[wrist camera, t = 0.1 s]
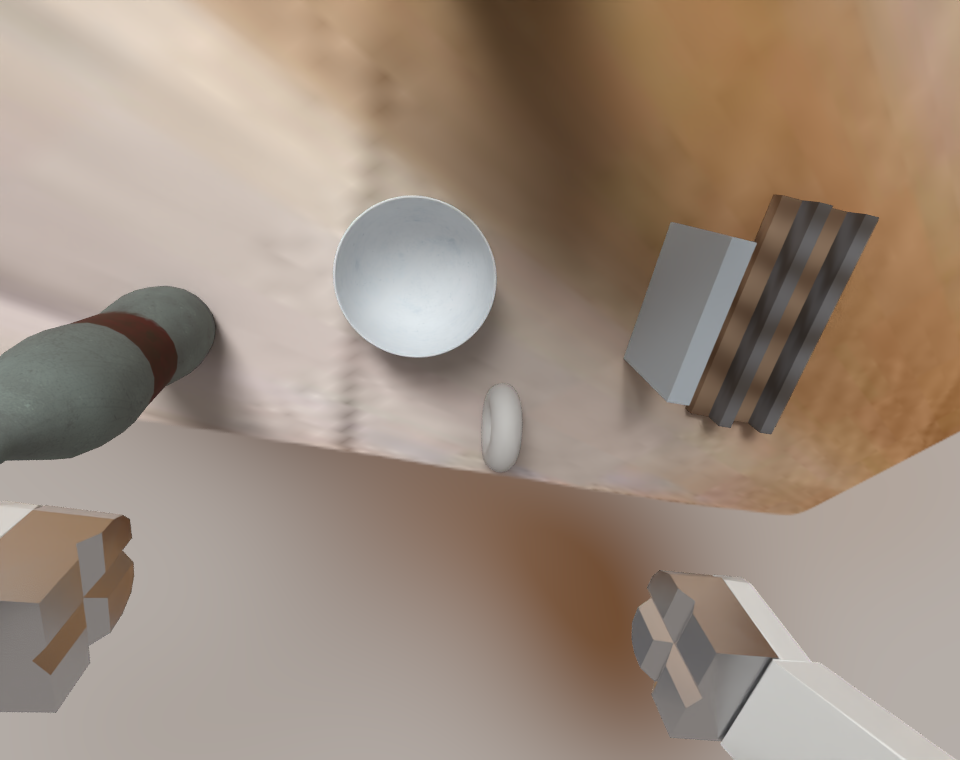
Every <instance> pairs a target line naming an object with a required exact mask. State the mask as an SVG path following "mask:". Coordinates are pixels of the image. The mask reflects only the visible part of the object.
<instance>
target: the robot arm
mask: <svg viewBox="0 0 960 760" xmlns="http://www.w3.org/2000/svg"><path fill="white" fill-rule="evenodd" d="M131 539H132V533H131V524H130V519H129V518H127V517H126V516H124V515H120V514H112V513H104V512H96V511H88V510H80V509H72V508H64V507H55V506H48V505H45V506H41V505H34V504H26V503H18V502H10V501H2V502H0V712H53V713H54V712H55V713H56V712H57V711H58V709H59V708H60V706H61V705H62V703H63V702H64V700H65V699H66V697H67V695H68V694H69V693H70V692H71V690H72V689H73V687H74V686H75V684H76V683H77V681H78V680H79V678H80V677H81V675H82V674H83V672H84V671H85V670H86V668H87V667H88V665H89V664H90V655H89V645H91V644H93V643H94V642H96V641H98V640H99V639H101V638H102V637H104V636H106V635H107V634H109V633H110V632H111V631H112V629H113V628H114V626H115V625H116V623H117V622H118V620H119V619H120V617H121V616H122V614H123V611H124V609H125V606H126V604H127V601H128V599H129V597H130V594H131V591H132V585H133V579H134V563H133V561H131V559H130V558H129V557H128V556H127V555H126V554H125V553H124V552H123V551H122V550H123V549H124V548H125V546H126V545H127V544H128V542H129V541H130V540H131ZM647 588H648V591H649V594H650V597H651V598H650V599H649V600H647V601H646V602H645V603H643V604H642V605H641V606H639V607H638V609H637V612H636V614H635V617H634V619H633V622H632V643H633V648H634V653H635V656H636V658H637V661H638V663H639V666H640V668H641V669H642V670H643V671H644V672H645V673H646V674H647V675H649V676H650V677H651V678H652V679H653V680H654V681H655V682H654V686H653V690H652V697H653V699H654V701H655V703H656V706H657V708H658V711H659V713H660V715H661V718H662V720H663V722H664V725H665V727H666V729H667V732H668V734H669V736H670V738H684V739H697V740H711V741H722V742H721V744H720V745H721V746H722V747H723V748H724V749H725V750H726V751H727V752H728V754H729V755H730V756H731V757H732V758H733V759H734V760H956V759H955V758H953V757H952V756H951V755H949V754H948V753H946V752H945V751H944V750H942V749H941V748H939V747H938V746H937V745H935V744H934V743H932V742H931V741H929V740H928V739H926V738H925V737H924V736H922V735H921V734H920V733H918V732H917V731H915V730H914V729H913V728H911V727H910V726H908V725H907V724H906V723H904V722H903V721H901V720H900V719H899V718H897V717H896V716H894V715H893V714H892V713H890V712H889V711H887V710H886V709H885V708H883V707H882V706H880V705H879V704H878V703H876V702H875V701H873V700H872V699H870V698H869V697H867V696H866V695H865V694H863V693H862V692H861V691H859V690H858V689H856V688H855V687H854V686H852V685H851V684H849V683H848V682H847V681H845V680H844V679H842V678H841V677H840V676H838V675H837V674H835V673H834V672H833V671H831V670H830V669H828V668H827V667H825V666H824V665H823V664H821V663H817V662H811V660H810V659H809V658H808V657H807V655H806V654H805V653H804V651H803V650H802V649H801V647H800V646H799V645H798V644H797V642H796V641H795V640H794V639H793V637H792V636H791V635H790V633H789V632H788V631H787V629H786V628H785V627H784V625H783V624H782V623H781V622H780V620H779V619H778V618H777V616H776V615H775V614H774V613H773V611H772V610H771V609H770V607H769V606H768V605H767V603H766V602H765V601H764V600H763V598H762V597H761V596H760V594H759V593H758V592H757V591H756V589H755V588H754V587H753V585H752V584H751V583H749V582H748V581H747V580H745V579H744V578H742V577H732V576H721V575H713V576H712V575H704V574H695V573H684V572H674V571H663V570H659V571H658V572H657V573H656V574H654V575H653V576H652V578H651V580H650V583H649V585H648V587H647Z"/></svg>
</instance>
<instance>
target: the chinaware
mask: <svg viewBox="0 0 960 760" xmlns="http://www.w3.org/2000/svg"><path fill="white" fill-rule="evenodd" d="M333 283H334V289H335V294H336V298H337V301H338V303H339V306H340V308H341V310H342V312H343V314H344V316H345V317H346V319H347V321H348V322H349V323H350V325H351V326H352V327H353V328H354V329H355V331H356V332H357V333H358V334H359V335H361V336H362V337H363V338H364V339H365V340H367V341H368V342H369V343H371V344H372V345H374V346H376V347H378V348H379V349H381V350H384V351H386V352H389V353H392V354H395V355H399V356H404V357H413V358H421V357H431V356H436V355H440V354H443V353H446V352H448V351H451V350H453V349H455V348H457V347H458V346H460V345H461V344H463V343H464V342H466V341H467V340H468V339H469V338H471V337H472V336H473V335H474V334H475V333H476V332H477V331H478V329H479V328H480V327H481V326H482V324H483V323H484V321H485V320H486V318H487V316H488V314H489V312H490V310H491V307H492V304H493V301H494V297H495V292H496V284H497V275H496V266H495V261H494V257H493V254H492V251H491V248H490V246H489V244H488V242H487V240H486V238H485V236H484V235H483V233H482V232H481V230H480V229H479V228H478V226H477V225H476V224H475V223H474V222H473V221H472V220H471V219H470V218H469V217H468V216H467V215H465V214H464V213H463V212H462V211H460V210H459V209H457V208H455V207H454V206H452V205H450V204H448V203H446V202H443V201H441V200H438V199H434V198H430V197H425V196H400V197H395V198H391V199H387V200H384V201H382V202H379V203H377V204H375V205H373V206H372V207H370V208H368V209H367V210H366V211H364V212H363V213H362V214H360V215H359V216H358V217H357V218H356V219H355V220H354V221H353V222H352V223H351V225H350V226H349V227H348V229H347V230H346V232H345V233H344V235H343V237H342V239H341V241H340V243H339V245H338V248H337V251H336V254H335V259H334V266H333Z"/></svg>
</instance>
